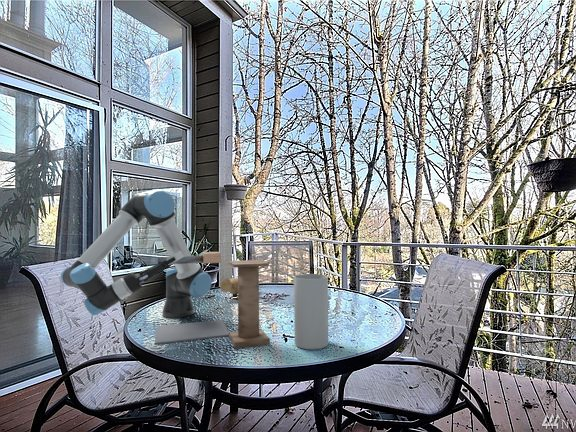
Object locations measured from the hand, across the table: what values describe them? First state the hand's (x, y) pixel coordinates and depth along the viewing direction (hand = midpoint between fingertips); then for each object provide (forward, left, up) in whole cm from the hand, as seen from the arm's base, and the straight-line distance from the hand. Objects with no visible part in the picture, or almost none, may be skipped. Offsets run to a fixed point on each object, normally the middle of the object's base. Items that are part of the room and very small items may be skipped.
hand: (182, 253), depth 138 cm
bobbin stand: (+17, +24, -33) cm, 44 cm away
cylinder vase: (+29, +45, -33) cm, 63 cm away
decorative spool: (-61, +35, -33) cm, 78 cm away
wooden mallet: (0, +3, -4) cm, 5 cm away
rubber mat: (-2, +4, -33) cm, 33 cm away
